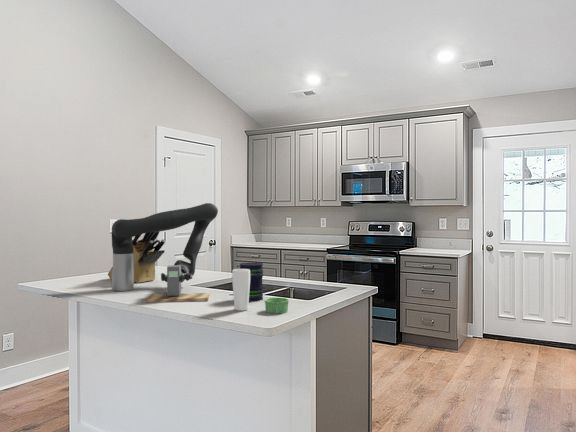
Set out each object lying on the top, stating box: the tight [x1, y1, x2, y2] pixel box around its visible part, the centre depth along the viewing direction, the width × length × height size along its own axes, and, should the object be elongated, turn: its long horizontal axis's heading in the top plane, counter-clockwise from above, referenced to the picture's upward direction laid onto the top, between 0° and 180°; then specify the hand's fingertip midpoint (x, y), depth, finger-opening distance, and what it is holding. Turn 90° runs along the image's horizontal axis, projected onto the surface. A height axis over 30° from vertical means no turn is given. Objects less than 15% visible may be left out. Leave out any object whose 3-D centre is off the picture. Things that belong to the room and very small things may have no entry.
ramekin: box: [264, 297, 290, 314], centre depth 169 cm, size 9×9×4 cm
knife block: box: [107, 231, 166, 284], centre depth 244 cm, size 11×35×31 cm, turn 56°
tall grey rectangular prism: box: [166, 265, 182, 296], centre depth 192 cm, size 5×5×12 cm
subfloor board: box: [145, 292, 211, 303], centre depth 193 cm, size 25×12×1 cm, turn 95°
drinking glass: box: [231, 268, 250, 312], centre depth 171 cm, size 7×7×15 cm
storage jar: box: [239, 262, 264, 302], centre depth 192 cm, size 10×10×15 cm
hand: (173, 279), depth 190 cm, fingers closed on tall grey rectangular prism, 5 cm apart
